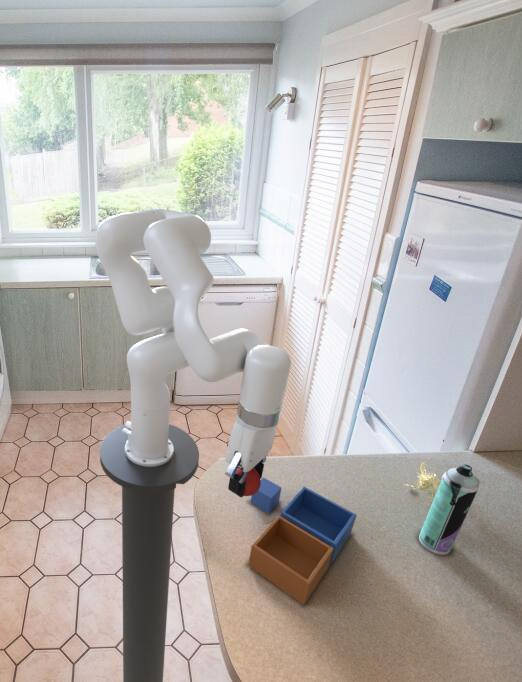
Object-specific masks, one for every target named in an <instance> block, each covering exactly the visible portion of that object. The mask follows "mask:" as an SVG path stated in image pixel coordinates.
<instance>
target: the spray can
mask: <svg viewBox="0 0 522 682" xmlns="http://www.w3.org/2000/svg"><path fill="white" fill-rule="evenodd" d="M441 479H442V480H440V482H441V483H440V485H439V488H438V490H437V489H436V490H437V492H436V493H435V495H434V497H435V498H434V500H433V502H432V501H431V503H432V504H431V506H430V508H429V510H428V512H427V515H426V518H425V520H424V522H423V525H422V528H421V530H420V532H419V536H418V539H419V542H420V544H421V545H422V547H424V548H425V549H426V550H428V552H431V553H434V554H436V555H440V556H443V555H444V556H445V555H449V553H450V552H451V550H452V548H453V546H454V544H455V541H456V539H457V537H458V535H459V532H460V531H461V529H462V527H463V524H464V521H465V519H466V517H467V515H468V513H469V510H470V508H471V506H472V504H473V502H474V501H475V498H476V495H477V493H478V491H479V488H480V485H481V482H480V479H479V478H478V477H477V475H475V474H474V473H473V468H472V466H471V465H469V464H461V465H460V466H458V467H455V466H454V467H453V466H452V467H448V468H446V470H445V472H444V473H443V475H442V477H441Z"/></svg>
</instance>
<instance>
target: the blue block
mask: <svg viewBox="0 0 522 682" xmlns="http://www.w3.org/2000/svg"><path fill="white" fill-rule="evenodd" d="M260 480H261V485H260V488H259V490H258V492H257V493H255V494H253V495H252V496H250V504H252V505H253V506H255V507H256V508H258V509H260V510H261V511H264V512H265V513H267V514H270V513H271V512H272V511H273V509H274V508H275V507H276V506H277V505H278V504H279V502H280V499H281V498H280V497H281V492H282V487H283V486H280V485H278V484H276V483H275V482H273V481H271V480H269V479H268V478H265V477H264V476H262V478H261V479H260Z"/></svg>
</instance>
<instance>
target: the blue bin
mask: <svg viewBox="0 0 522 682" xmlns="http://www.w3.org/2000/svg"><path fill="white" fill-rule="evenodd" d="M279 516H281V517H282V518H284V519H286V520H287V521H289V522H291V523H292V524H294V525H296V526H297V527H299V528H301V529H302V530H304V531H306V532H307V533H309V534H311V535H312V536H314V537H316V538H317V539H319V540H321V541H322V542H324V543H326V544H327V545H329V546H330V547H332V548H334V549H333V553H332V556H331V560H330V563H329V566H331V565H332V563H333V562H334V560H335V559H336V557H337V556H338V555H339V552H340V551H341V550H342V549H343V547H344V545H345V544H346V542H347V541H348V539H349V538H350V536H351V535H352V531H353V528H354V524H355V521H356V518H357V514H356V513H354V512H353V511H351V510H349V509H347V508H346V507H343V506H341V505H340V504H337V503H335V502H334V501H332V500H330V499H328V498H326V497H324V496H322V495H321V494H319V493H317V492H316V491H313V490H311V488H310V489H309V488H308V487H306V486H303V487H302V488H301V489H300V490H298V492H297V493H296V494H295V495H294V497H293V498H291V500H290V501H289V502H288V504H286V506H285V507H284V508H283V509H282V510H281V511H280V515H279Z"/></svg>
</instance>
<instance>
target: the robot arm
mask: <svg viewBox="0 0 522 682" xmlns="http://www.w3.org/2000/svg"><path fill="white" fill-rule="evenodd" d="M94 242H95V249H96V254H97V257H98V259H99V262H100V264H101V266H102V269H104V272H105V273H106V275H107V277H108V279H109V282H110V285H111V289H112V293H113V296H114V300H115V303H116V307H117V310H118V314H119V317H120V320H121V324H122V326H123V327H124V329H125V331H126V332H127V333H128V334H129V335H132V336H140V335H145V334H148V333H151V332H154V331H157V330H160V329H161V332H162V333H161V334H158V335H155V336H152V337H149V338H146V339H143V340H140V341H139V342H137V343H135V344H133V345H132V346H131V347H130V348H129V350H128V352H127V354H126V367H127V369H128V370H127V371H128V375H129V382H130V421H129V420H127V421H126V422H125V424H124V425H125V427H126V428H127V429H129V430H131V431H129V430H127V429H126V428H124V429H123V430H122V433H124V434H126V435H128V441H127V442H126V444H125V453H126V456H127V457H128V459H129V460H131V461H132V462H133V463H135V464H138V465H141V466H146V467H155V466H160V465H163V464H165V463H167V462H168V461H169V460H170V459H171V458H172V456H173V453H174V447H173V444H172V442H171V441H170V440H169V439H168V435H169V424H170V415H171V412H170V411H171V391H170V388H169V386H168V385H167V383H166V382H165V378H166V377H167V376H170V375H171V374H173V373H176V372H178V371H181V370H183V369H185V368H187V367H190V368H191V370H192V371H193V372H194V373H195V375H196V376H197V377H199V379H201V380H203V381H205V382H208V383H217V382H220V381H222V380H225V379H227V378H229V377H232V376H233V375H235V374H237V373H242V380H241V386H240V391H239V397H238V405H237V410H236V419H235V421H234V423H233V426H232V429H231V433H230V436H229V441H228V445H227V448H226V454H225V462H226V463H228V464H229V465H228V466H227V469H226V471H225V474H224V475H225V476H227V477H229V479H228V480H229V481H228V486H227V489H228V491H230V492H231V493H233V494H235V495H236V496H238V497H239V498H243V497H245V496H244V491H245V486H246V481H245V477H246V475H247V472H248V471H250V470H251V469H252V468H255V470H256V471H257V472H258V473H259V475H260V480H261V479H262V478H263V473H264V468H265V464H264V463H265V462H266V461H267V455H268V454H269V453H270V452H271V450H272V448H273V445H274V441H275V437H276V430H277V426H278V425H279V422H280V418H281V413H282V408H283V403H284V399H285V395H286V390H287V385H288V382H289V376H290V372H291V365H292V359H291V356H290V355H289V354H288V353H287V352H286V351H285V350H284V349H282V348H279V347H277V346H274V345H270V344H269V343H267V342H266V341H264V340H263V338H261V337H260V336H259V335H258V334H256V333H255V332H253V331H252V330H249V329H247V328H236V329H234V330H231V331H228V332H226V333H222V334H220V335H218V336H215V337H213V338H209V336H208V335H207V333H206V332H205V330H204V328H203V326H202V324H201V321H200V318H199V305H200V301H201V299H202V298H203V297H204V296H205V295H206V294H207V293H208V292H209V291H210V290H211V288H212V287H213V285H214V283H215V282H214V281H215V279H214V278H215V277H214V275H213V274H212V273H211V271H210V270H209V268H208V266H207V264H206V263H205V261H204V260H203V258H202V256H201V255H203V254H204V253H205V252H207V250H208V249H209V248H210V246H211V243H212V234H211V230H210V227H209V226H208V224H207V223H206V221H205V220H203V219H202V218H201V217H200V216H198V215H196V214H192V213H187V212H181V211H175V210H170V209H164V208H154V209H146V210H139V211H131V212H123V213H118V214H115V215H112V216H109V217H107V218H106V219H104V220H102V221H101V222H100V224H99V225H98V227H97V229H96V232H95V241H94ZM143 251H146V253H147V254H148V257H149V258H150V260H151V261H152V263H153V264H154V266H155V268H156V270H157V271H158V273H159V275H160V277H161V278H162V280H163V281H164V283H165V285H166V286H159V287H155V288H152V287H151V283H150V282H149V278H148V274H147V271H146V270H145V268H144V266H143V265H142V264H141V263H140V262H139V261H138V260H137V259H136V258H135V257H133V255H132V253H136V252H143ZM238 468H239V469H241V470H243V471H242V474H241V476H240V475H239V474H237V473H236V471H237V469H238Z"/></svg>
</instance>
